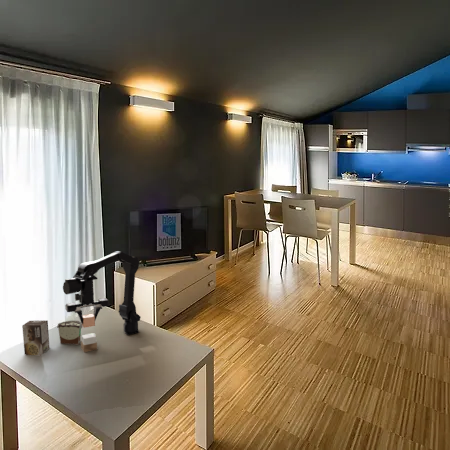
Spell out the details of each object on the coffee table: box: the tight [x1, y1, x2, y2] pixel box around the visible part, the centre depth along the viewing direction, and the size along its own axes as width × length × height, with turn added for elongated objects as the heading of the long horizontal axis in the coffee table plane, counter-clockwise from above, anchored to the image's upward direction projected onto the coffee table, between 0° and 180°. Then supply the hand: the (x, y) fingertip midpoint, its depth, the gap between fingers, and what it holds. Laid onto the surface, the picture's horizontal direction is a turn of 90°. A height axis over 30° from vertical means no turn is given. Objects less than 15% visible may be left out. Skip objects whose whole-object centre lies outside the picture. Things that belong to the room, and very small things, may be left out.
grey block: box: [81, 332, 97, 345], centre depth 176 cm, size 6×6×3 cm
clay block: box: [82, 313, 96, 329], centre depth 176 cm, size 5×5×4 cm
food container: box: [57, 320, 83, 346], centre depth 185 cm, size 12×6×10 cm, turn 83°
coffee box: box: [21, 320, 50, 356], centre depth 175 cm, size 9×6×16 cm
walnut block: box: [80, 340, 98, 353], centre depth 177 cm, size 6×6×4 cm
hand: (88, 322), depth 176 cm, fingers closed on clay block, 5 cm apart
